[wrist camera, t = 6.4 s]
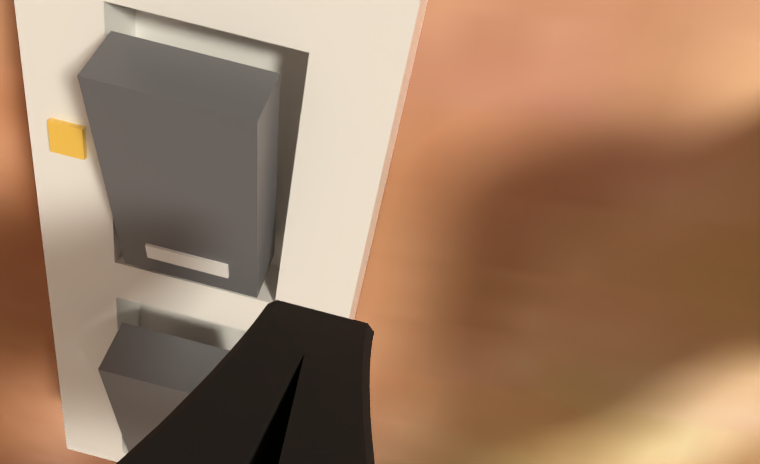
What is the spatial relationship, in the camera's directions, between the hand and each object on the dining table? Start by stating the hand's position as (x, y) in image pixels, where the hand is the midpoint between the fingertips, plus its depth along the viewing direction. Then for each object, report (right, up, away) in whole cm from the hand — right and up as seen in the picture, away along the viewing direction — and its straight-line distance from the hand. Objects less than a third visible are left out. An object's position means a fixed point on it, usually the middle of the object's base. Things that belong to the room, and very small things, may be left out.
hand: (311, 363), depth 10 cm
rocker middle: (-3, +3, +6) cm, 8 cm away
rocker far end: (-5, -3, +11) cm, 12 cm away
